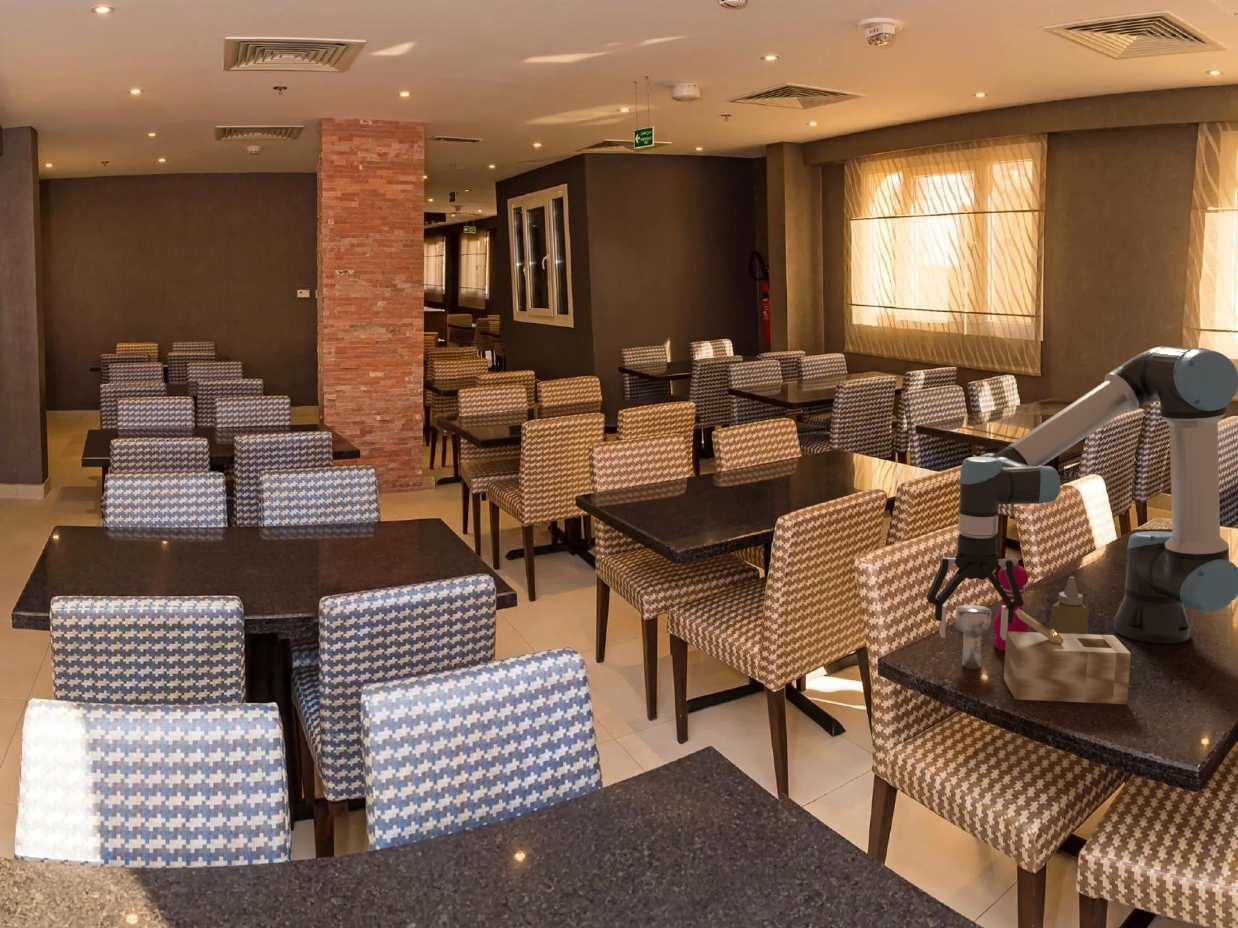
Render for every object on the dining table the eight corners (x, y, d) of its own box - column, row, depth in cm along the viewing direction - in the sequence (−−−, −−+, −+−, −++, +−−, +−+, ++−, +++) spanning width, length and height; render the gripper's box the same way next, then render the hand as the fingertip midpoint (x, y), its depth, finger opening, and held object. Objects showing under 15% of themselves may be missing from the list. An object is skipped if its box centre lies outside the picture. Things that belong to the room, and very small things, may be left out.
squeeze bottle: (1085, 670, 208) (1090, 585, 204) (1042, 663, 212) (1047, 579, 209) (1090, 658, 214) (1096, 575, 211) (1049, 651, 219) (1054, 570, 215)
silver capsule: (985, 660, 214) (988, 605, 212) (991, 672, 207) (994, 615, 205) (951, 658, 215) (954, 604, 213) (957, 670, 208) (959, 614, 206)
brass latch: (1053, 638, 198) (1058, 632, 198) (1059, 646, 194) (1065, 640, 193) (1014, 611, 198) (1020, 605, 198) (1019, 618, 194) (1025, 612, 194)
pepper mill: (1030, 653, 217) (1035, 563, 214) (994, 652, 219) (999, 561, 215) (1023, 642, 224) (1028, 554, 221) (989, 640, 226) (993, 552, 222)
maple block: (1110, 683, 201) (1113, 635, 199) (1126, 704, 191) (1130, 653, 189) (1003, 679, 204) (1006, 631, 202) (1014, 699, 194) (1017, 648, 192)
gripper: (1034, 530, 208) (1028, 632, 212) (914, 528, 212) (910, 628, 216) (1043, 539, 201) (1037, 645, 205) (919, 536, 205) (915, 640, 208)
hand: (972, 636), depth 210 cm, fingers open, 11 cm apart
